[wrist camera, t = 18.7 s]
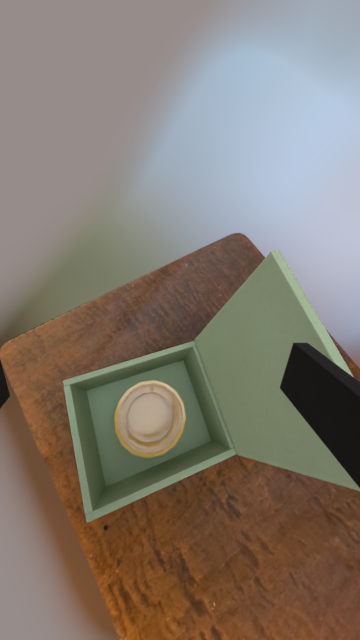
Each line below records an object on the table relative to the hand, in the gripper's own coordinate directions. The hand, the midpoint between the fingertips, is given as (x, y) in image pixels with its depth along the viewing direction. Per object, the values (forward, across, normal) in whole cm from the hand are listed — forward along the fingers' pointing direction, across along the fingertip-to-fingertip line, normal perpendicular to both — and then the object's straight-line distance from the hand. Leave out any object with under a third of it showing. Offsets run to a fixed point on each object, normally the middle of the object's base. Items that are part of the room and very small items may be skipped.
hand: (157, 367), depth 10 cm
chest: (+20, 0, -24) cm, 31 cm away
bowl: (+20, 0, -23) cm, 30 cm away
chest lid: (+8, +10, -7) cm, 14 cm away
